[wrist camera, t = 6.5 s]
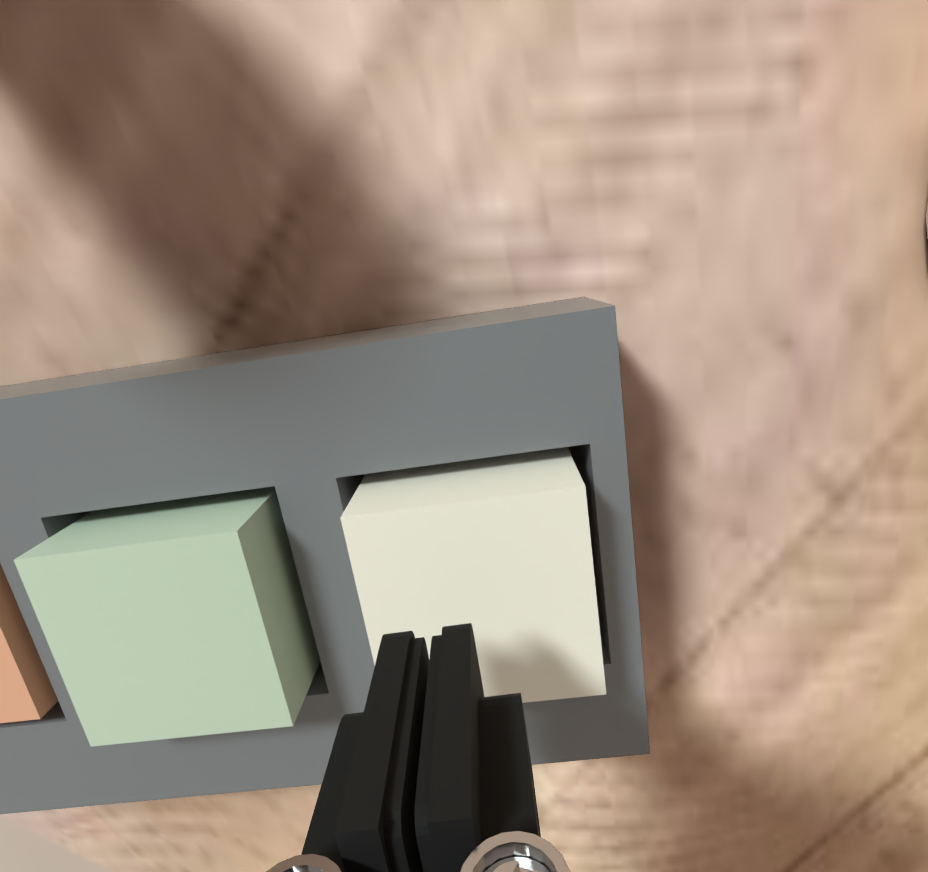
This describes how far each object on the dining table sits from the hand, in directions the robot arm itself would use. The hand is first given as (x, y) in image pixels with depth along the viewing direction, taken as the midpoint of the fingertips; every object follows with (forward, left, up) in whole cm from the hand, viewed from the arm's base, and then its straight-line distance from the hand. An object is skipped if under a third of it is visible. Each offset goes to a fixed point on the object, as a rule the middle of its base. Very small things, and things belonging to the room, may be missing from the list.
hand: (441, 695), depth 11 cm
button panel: (+7, 0, -8) cm, 10 cm away
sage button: (+7, 0, -6) cm, 9 cm away
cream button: (-1, 0, -6) cm, 6 cm away
